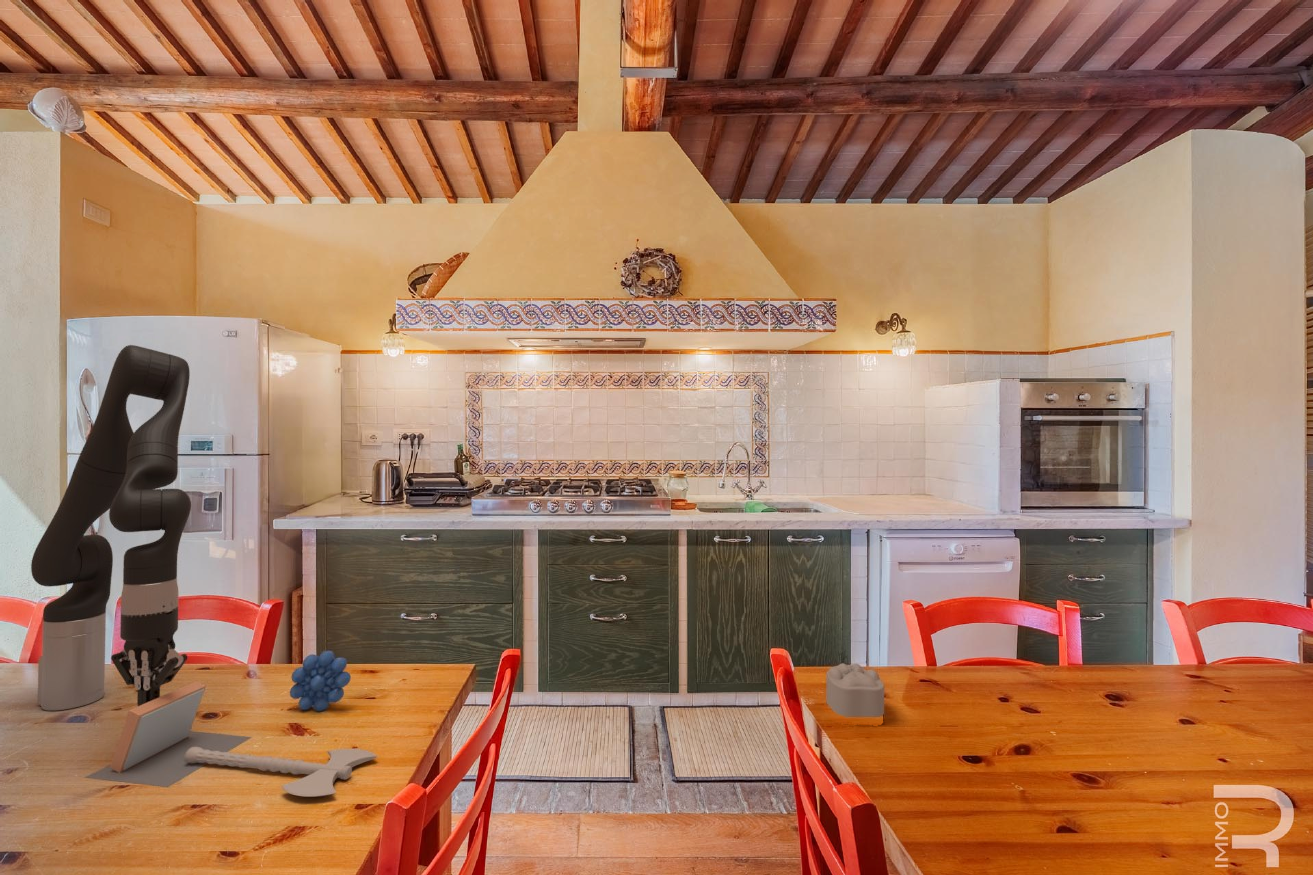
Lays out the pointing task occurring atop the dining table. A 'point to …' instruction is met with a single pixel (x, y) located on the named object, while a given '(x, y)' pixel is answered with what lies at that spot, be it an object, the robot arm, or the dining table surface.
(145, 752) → the tile
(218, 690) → the dining table surface
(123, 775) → the mat
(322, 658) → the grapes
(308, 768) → the double-bladed axe
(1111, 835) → the dining table surface
